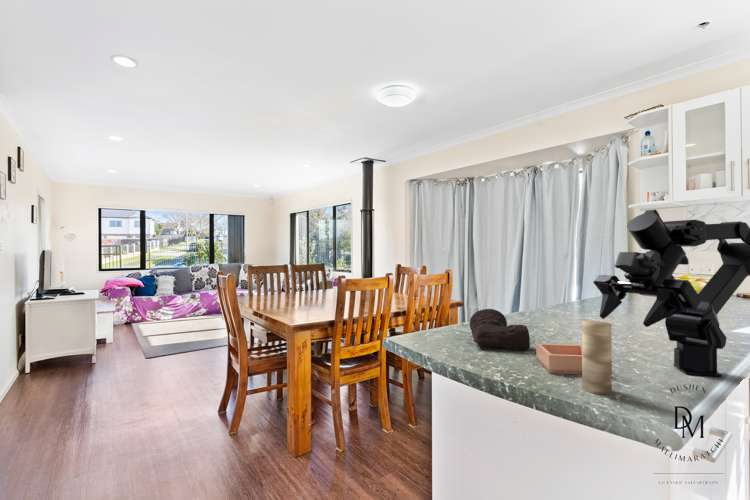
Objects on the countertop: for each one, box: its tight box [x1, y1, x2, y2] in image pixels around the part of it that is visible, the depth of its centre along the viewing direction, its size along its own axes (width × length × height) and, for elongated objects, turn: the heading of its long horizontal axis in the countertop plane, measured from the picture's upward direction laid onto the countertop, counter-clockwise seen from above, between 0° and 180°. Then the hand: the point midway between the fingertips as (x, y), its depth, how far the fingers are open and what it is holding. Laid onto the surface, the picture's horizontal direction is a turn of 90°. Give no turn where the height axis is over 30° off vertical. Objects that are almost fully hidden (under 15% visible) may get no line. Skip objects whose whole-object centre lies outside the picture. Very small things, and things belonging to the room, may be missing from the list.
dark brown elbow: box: [469, 308, 531, 351], centre depth 111 cm, size 10×15×15 cm
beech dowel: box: [581, 320, 613, 396], centre depth 75 cm, size 5×5×13 cm
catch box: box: [535, 343, 582, 375], centre depth 90 cm, size 11×11×4 cm
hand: (622, 321), depth 78 cm, fingers open, 9 cm apart
